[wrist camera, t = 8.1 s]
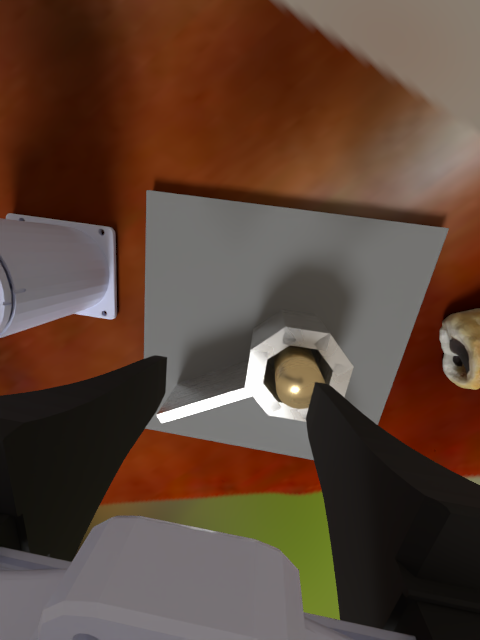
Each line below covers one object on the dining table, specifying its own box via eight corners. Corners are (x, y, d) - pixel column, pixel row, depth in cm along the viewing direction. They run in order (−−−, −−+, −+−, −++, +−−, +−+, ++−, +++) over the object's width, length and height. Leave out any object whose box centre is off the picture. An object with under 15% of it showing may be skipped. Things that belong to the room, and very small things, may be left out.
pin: (271, 362, 21) (272, 405, 15) (275, 330, 20) (279, 363, 15) (305, 367, 21) (320, 412, 15) (311, 335, 20) (330, 369, 14)
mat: (147, 421, 26) (142, 427, 25) (152, 192, 19) (146, 190, 18) (357, 460, 24) (361, 468, 23) (439, 229, 18) (448, 228, 17)
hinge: (174, 423, 24) (154, 461, 20) (182, 294, 20) (160, 306, 16) (331, 452, 23) (347, 498, 19) (371, 323, 19) (402, 344, 15)
